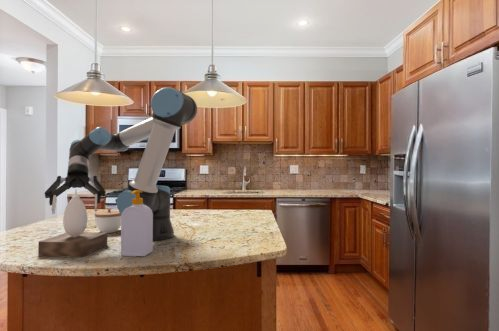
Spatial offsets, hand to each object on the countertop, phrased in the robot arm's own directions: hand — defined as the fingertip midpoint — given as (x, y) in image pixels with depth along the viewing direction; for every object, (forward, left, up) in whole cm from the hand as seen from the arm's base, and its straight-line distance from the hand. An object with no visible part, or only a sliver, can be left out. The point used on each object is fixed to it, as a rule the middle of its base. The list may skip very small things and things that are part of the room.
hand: (75, 210), depth 110 cm
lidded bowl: (+6, -35, -15) cm, 39 cm away
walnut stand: (+1, -2, -15) cm, 15 cm away
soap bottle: (-24, +1, -15) cm, 28 cm away
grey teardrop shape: (+1, -2, -10) cm, 11 cm away
